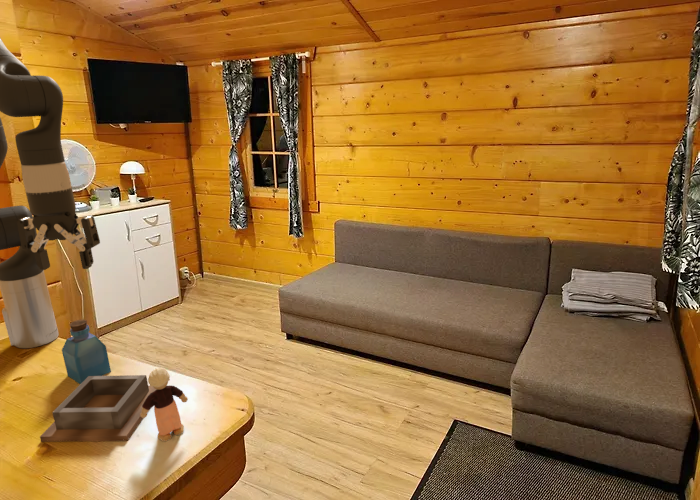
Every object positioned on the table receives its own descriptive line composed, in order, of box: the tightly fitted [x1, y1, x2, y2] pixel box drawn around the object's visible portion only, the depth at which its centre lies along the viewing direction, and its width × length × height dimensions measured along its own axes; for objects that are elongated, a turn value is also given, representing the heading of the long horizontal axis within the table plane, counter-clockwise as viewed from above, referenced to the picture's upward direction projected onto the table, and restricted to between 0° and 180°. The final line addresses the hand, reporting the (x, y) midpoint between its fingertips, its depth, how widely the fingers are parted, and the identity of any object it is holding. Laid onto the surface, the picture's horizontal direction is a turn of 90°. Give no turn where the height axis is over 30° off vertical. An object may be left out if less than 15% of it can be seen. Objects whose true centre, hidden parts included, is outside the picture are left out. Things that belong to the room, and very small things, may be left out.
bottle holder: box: [39, 374, 157, 443], centre depth 88 cm, size 15×15×4 cm
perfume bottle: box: [61, 319, 112, 385], centre depth 101 cm, size 6×6×12 cm
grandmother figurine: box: [140, 367, 189, 442], centre depth 81 cm, size 8×4×13 cm, turn 141°
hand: (66, 268), depth 95 cm, fingers open, 8 cm apart
